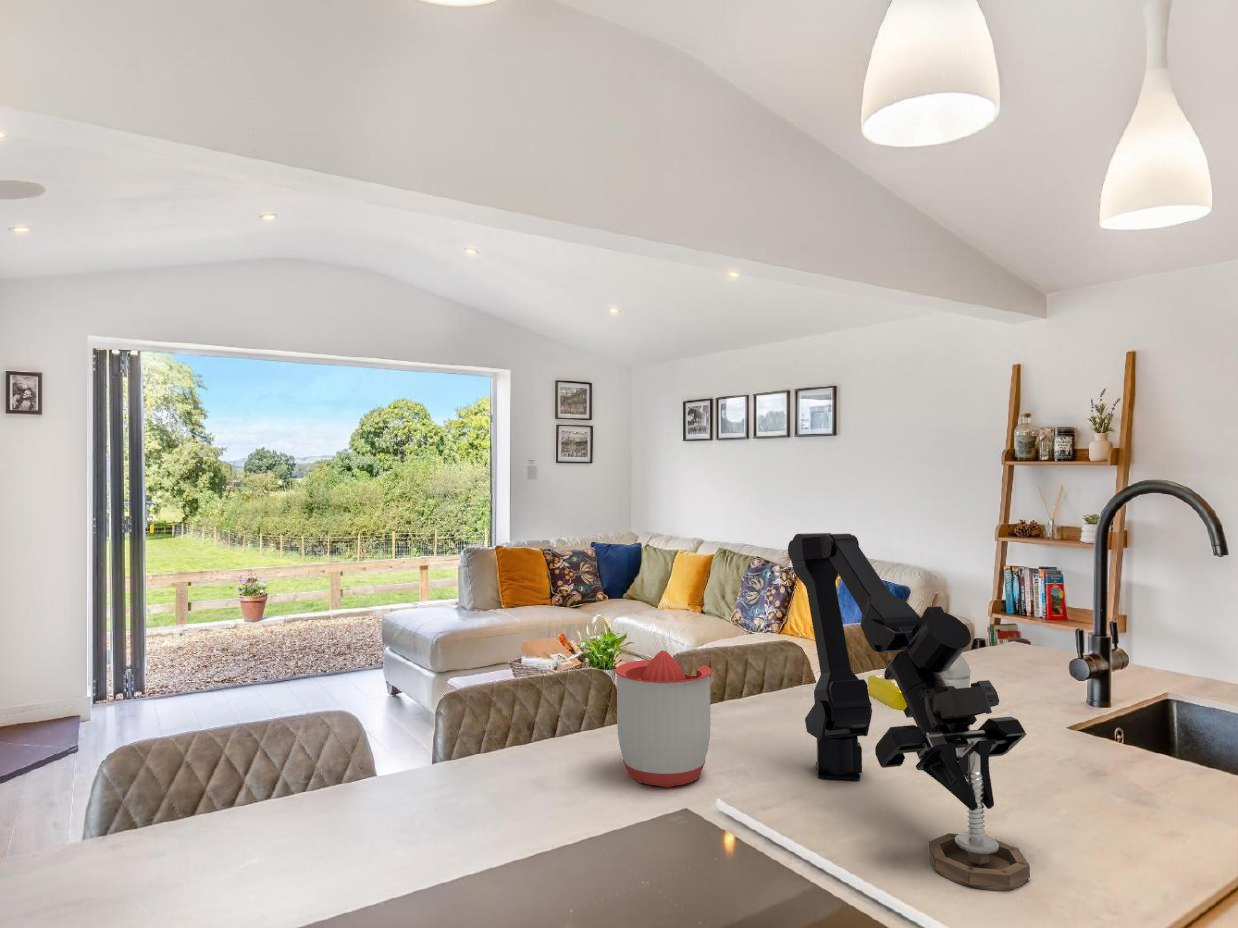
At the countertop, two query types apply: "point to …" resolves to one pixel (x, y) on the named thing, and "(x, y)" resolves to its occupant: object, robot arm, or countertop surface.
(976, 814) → the screw
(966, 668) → the plastic bottle
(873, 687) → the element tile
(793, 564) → the robot arm
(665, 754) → the citrus juicer
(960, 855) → the brown wooden tray
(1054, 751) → the countertop surface
